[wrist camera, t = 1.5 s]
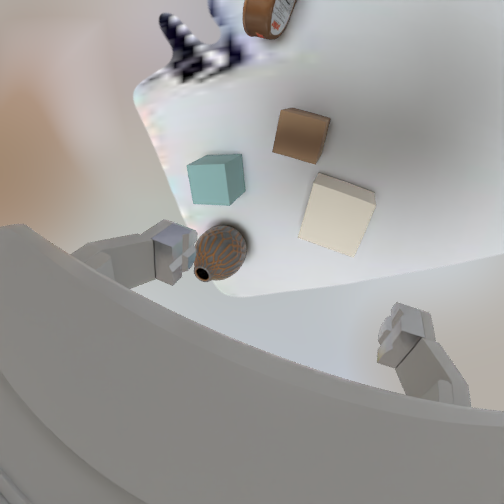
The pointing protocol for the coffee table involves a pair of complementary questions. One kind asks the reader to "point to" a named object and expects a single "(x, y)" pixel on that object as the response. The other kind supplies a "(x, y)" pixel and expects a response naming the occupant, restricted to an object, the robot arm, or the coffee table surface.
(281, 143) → the walnut block
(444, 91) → the coffee table surface
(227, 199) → the teal cube
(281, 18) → the tin
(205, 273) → the vase
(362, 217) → the limestone block
